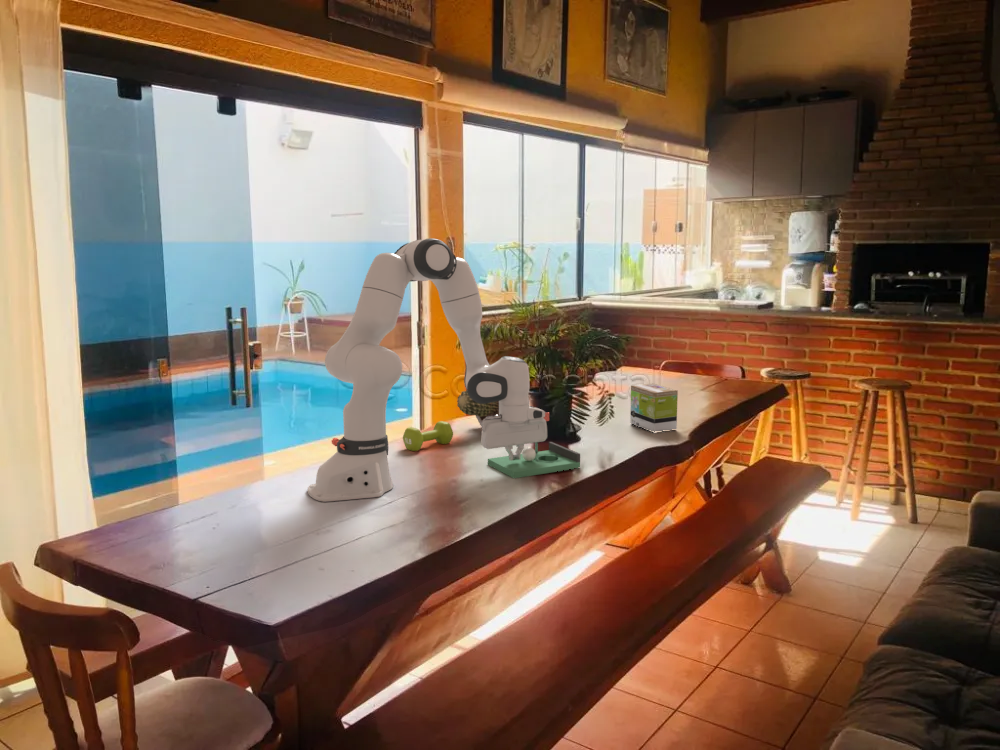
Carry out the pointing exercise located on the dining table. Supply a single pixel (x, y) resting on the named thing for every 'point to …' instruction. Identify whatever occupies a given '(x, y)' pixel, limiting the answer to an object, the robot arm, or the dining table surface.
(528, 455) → the ball
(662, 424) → the tea box
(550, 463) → the mat
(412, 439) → the dumbbell
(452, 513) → the dining table surface
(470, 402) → the potted plant
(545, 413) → the flag pin
